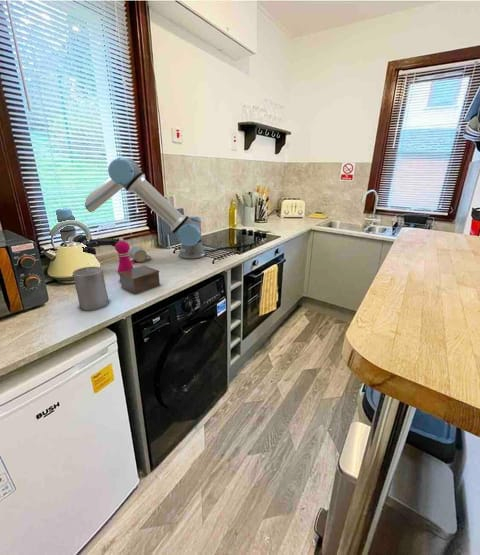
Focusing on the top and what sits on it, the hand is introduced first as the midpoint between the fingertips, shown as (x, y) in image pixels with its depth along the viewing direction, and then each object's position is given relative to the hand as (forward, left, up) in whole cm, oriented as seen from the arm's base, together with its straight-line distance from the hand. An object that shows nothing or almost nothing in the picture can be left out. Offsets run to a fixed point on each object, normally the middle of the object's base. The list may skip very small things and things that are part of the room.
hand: (108, 248), depth 126 cm
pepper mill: (-2, +10, -14) cm, 17 cm away
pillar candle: (+19, +23, -14) cm, 33 cm away
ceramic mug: (-23, -12, -14) cm, 30 cm away
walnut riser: (-2, +21, -14) cm, 25 cm away
